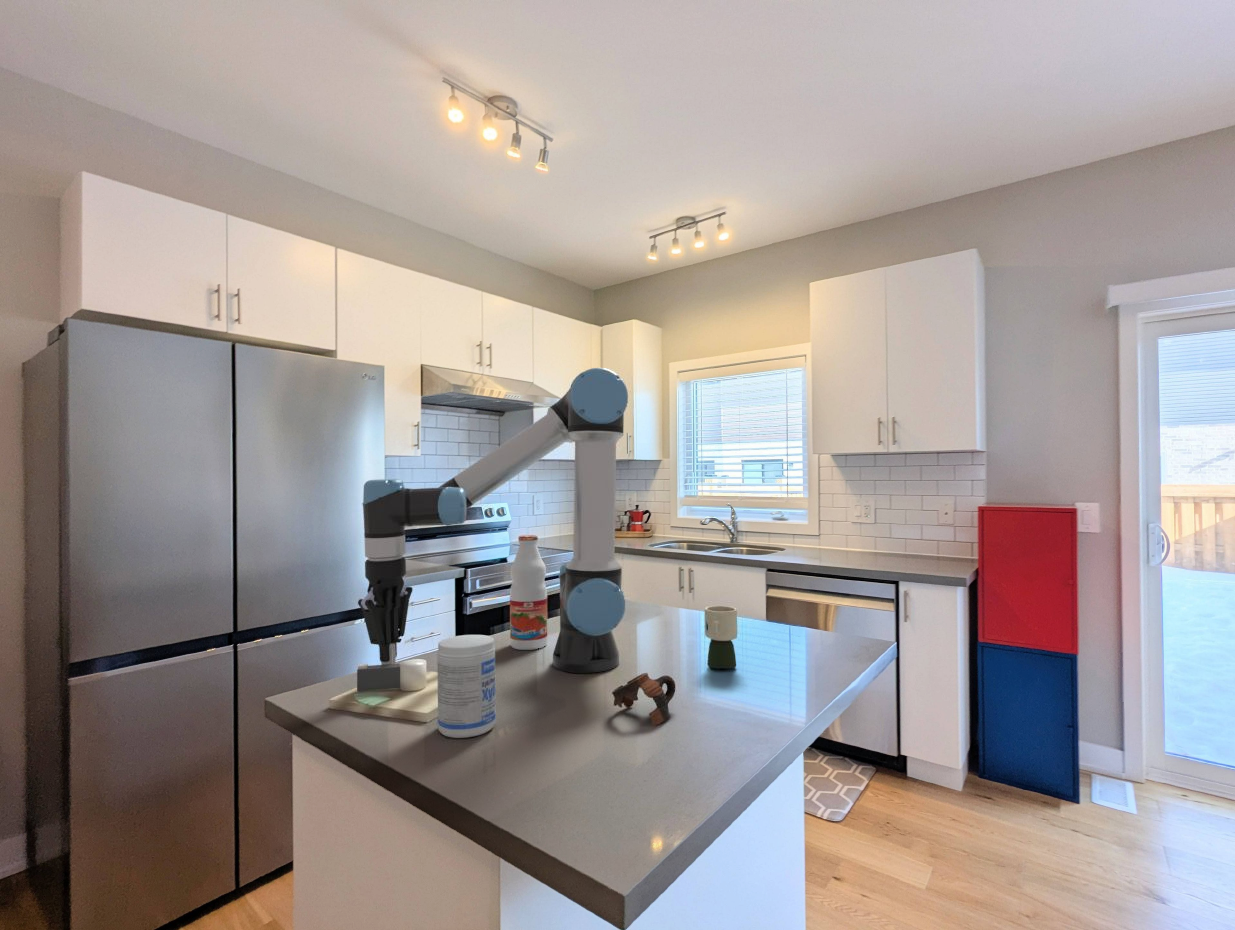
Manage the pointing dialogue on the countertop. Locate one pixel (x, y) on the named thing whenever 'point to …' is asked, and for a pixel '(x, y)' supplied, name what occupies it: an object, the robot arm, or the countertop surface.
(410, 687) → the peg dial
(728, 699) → the countertop surface
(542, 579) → the fruit juice
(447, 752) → the countertop surface
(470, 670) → the supplement tub
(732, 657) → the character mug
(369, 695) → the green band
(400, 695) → the board
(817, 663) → the countertop surface
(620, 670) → the countertop surface
